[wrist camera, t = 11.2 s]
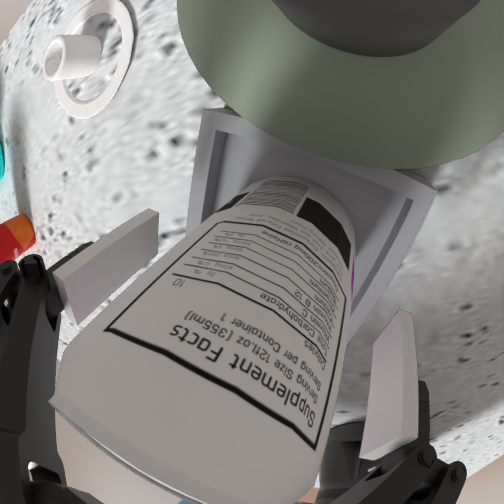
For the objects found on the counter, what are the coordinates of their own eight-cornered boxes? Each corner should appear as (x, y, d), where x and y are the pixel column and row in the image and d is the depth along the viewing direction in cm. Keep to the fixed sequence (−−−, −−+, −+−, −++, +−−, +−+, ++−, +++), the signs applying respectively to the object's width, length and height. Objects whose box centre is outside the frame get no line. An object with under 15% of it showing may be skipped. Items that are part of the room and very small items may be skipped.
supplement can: (367, 281, 17) (324, 537, 5) (256, 296, 21) (146, 480, 9) (334, 156, 14) (174, 477, 2) (211, 195, 18) (9, 359, 6)
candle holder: (163, 38, 14) (121, 32, 11) (91, 142, 21) (54, 154, 18) (103, -19, 12) (67, -24, 8) (48, 73, 19) (17, 79, 15)
